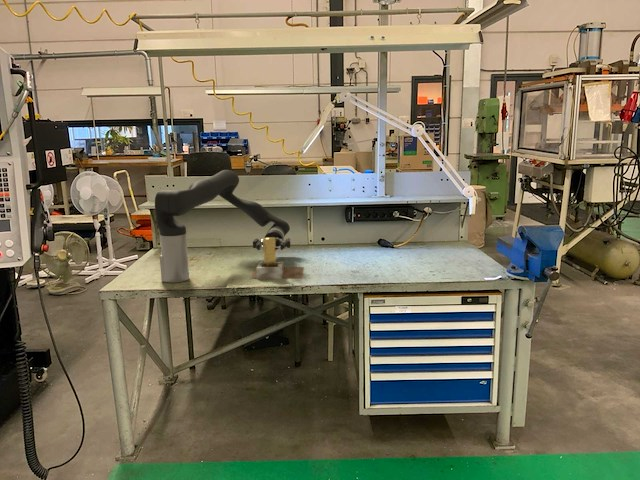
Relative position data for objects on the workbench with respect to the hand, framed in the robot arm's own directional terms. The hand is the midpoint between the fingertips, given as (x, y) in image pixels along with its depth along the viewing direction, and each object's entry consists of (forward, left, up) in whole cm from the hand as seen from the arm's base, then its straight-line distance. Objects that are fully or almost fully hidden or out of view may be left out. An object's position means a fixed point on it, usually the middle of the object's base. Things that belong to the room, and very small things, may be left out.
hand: (270, 247), depth 177 cm
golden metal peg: (0, -1, -10) cm, 10 cm away
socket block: (+2, +2, -11) cm, 12 cm away
